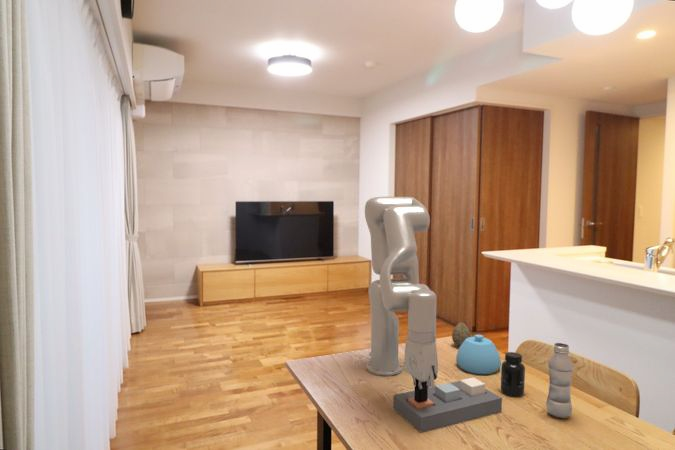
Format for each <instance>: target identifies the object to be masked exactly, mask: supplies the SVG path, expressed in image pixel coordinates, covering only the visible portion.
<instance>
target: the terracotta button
mask: <svg viewBox="0 0 675 450" xmlns="http://www.w3.org/2000/svg"><path fill="white" fill-rule="evenodd" d="M408 402H409V403H410V404H411V405H413V406H414V407H415V408H416V409H422V408H426V407H431V406H434V402H432V401H431V400H429V399H428V398H427V401H424V402H420V403H418V402H417V401H415V400H414V397H412V398H408Z"/></svg>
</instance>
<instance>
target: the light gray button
mask: <svg viewBox="0 0 675 450" xmlns="http://www.w3.org/2000/svg"><path fill="white" fill-rule="evenodd" d="M450 383H451V382H445V383H442V384H441V383H440V384H436V385H435V396H436V397H437V398H439V399H440V400H442V401H443V402H444V403H448V402H452V401H456V400H460V389H459V388H457V387H455V386H454V385H452V384H450Z"/></svg>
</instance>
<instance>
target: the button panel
mask: <svg viewBox="0 0 675 450" xmlns="http://www.w3.org/2000/svg"><path fill="white" fill-rule="evenodd" d="M449 383H450V384H452V385H454V386H455V387H457V388H459V389H460V380H458V381H453V382H449ZM435 386H436V385H435ZM435 386H433V387H429V388H428V397H427V398H428V399H429V400H431V401H432V402H434V406H431V407H426V408H422V409H416V408H415V407H414V406H413V405H411V404H410V403H409V402H408V398H412V397H414V396H415V390H411V391H406V392H402V393H401V392H400V393H397V394H396V393H395V394H393V395H392V396H393V398H392V400H393V402H392V403H393V405H392V406H393V408H394V409H395V410H394V409H393V410H394V411H396V412H397V413H398V415H400V414H401V415H400V416H401V417H402V418H404V419H405V420H406V421H407V420H408V423H410V424H411V425H412V426H413V427H414V426H415V427H414V428H415V429H417V430H418V431H419V432H420V431H421V432H420V433H424V431H425V432H429V431H432V430H436V429H437V430H438V429H440V428H443V427H448V426H452V425H455V424H459V423H462V422H468V421H472V420H475V419H478V418H483V417H485V416H491V415H494V414H498V413H501V412H502V407H503V406H502V405H503V403H502V402H503V398H502V397H501V396H499V395H498V394H496V393H494V392H492V391H491V390H489V389H487V388H485V394H482V395H478V396H473V397H470V396H469V395H467V394H466V393H464V392H462V391H461V390H460V400H456V401H452V402H448V403H444V402H443V401H442V400H440V399H439V398H437V397H436V396H435ZM428 430H429V431H428Z"/></svg>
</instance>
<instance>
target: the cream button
mask: <svg viewBox="0 0 675 450" xmlns="http://www.w3.org/2000/svg"><path fill="white" fill-rule="evenodd" d="M459 381H460V390H461V391H462V392H464V393H466V394H467V395H469V396H470V397H473V396H478V395H482V394H485V389H486V383H484V382H483V381H482V380H479V379H477V378H475V377H469V378H465V379H461V380H459Z"/></svg>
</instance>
